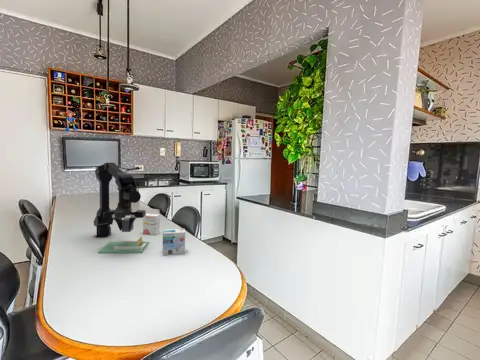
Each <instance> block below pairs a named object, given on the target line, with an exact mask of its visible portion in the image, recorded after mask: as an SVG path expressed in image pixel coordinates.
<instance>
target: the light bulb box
mask: <svg viewBox="0 0 480 360" xmlns="http://www.w3.org/2000/svg"><path fill="white" fill-rule="evenodd" d="M185 251H186V229H185V228H171V229H170V228H169V229H167V228H166V229H163V231H162V256H166V255H168V256H169V255H183V254H185Z"/></svg>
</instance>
